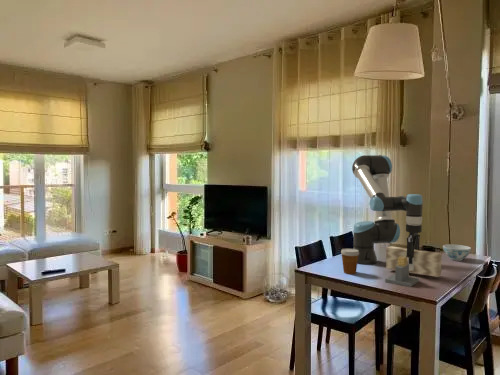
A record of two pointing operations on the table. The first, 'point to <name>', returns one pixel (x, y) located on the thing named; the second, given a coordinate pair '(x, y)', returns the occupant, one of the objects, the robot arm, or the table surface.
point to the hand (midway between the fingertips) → (412, 268)
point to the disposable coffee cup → (349, 260)
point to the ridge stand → (402, 274)
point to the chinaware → (456, 251)
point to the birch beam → (416, 260)
